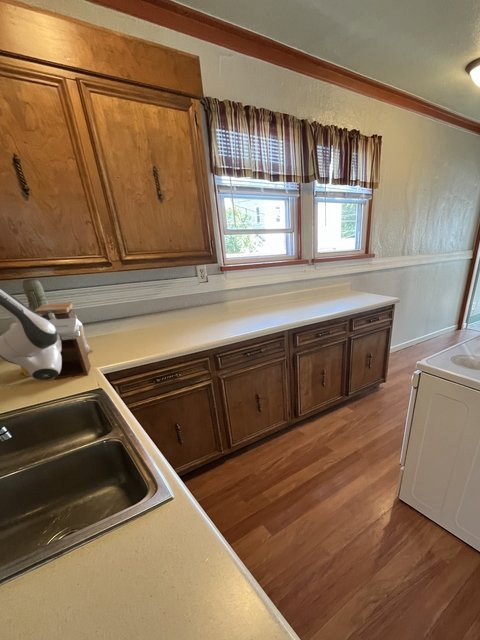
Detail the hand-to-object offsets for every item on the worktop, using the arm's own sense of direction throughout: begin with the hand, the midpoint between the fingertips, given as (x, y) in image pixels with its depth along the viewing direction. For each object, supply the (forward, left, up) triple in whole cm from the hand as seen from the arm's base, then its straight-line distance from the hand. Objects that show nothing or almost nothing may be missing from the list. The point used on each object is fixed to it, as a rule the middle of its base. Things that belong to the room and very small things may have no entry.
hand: (46, 315), depth 122 cm
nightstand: (+7, +9, -28) cm, 30 cm away
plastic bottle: (+23, +30, -28) cm, 47 cm away
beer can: (-3, +23, -28) cm, 36 cm away
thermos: (+20, +52, -28) cm, 62 cm away
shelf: (+6, +9, -1) cm, 11 cm away
